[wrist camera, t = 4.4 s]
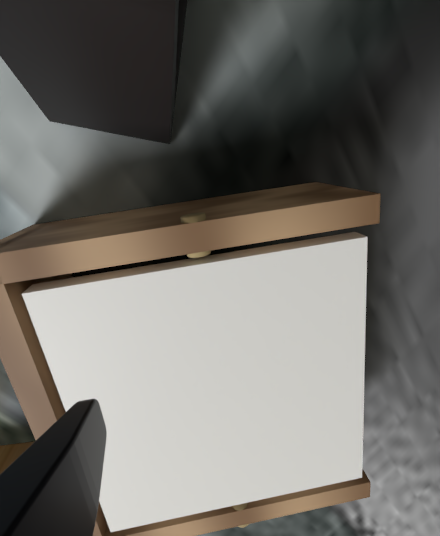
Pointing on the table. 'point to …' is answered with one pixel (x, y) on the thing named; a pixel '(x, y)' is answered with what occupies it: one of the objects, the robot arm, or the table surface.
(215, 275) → the trapdoor
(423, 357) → the table surface
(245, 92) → the table surface
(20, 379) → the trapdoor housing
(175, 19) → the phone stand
